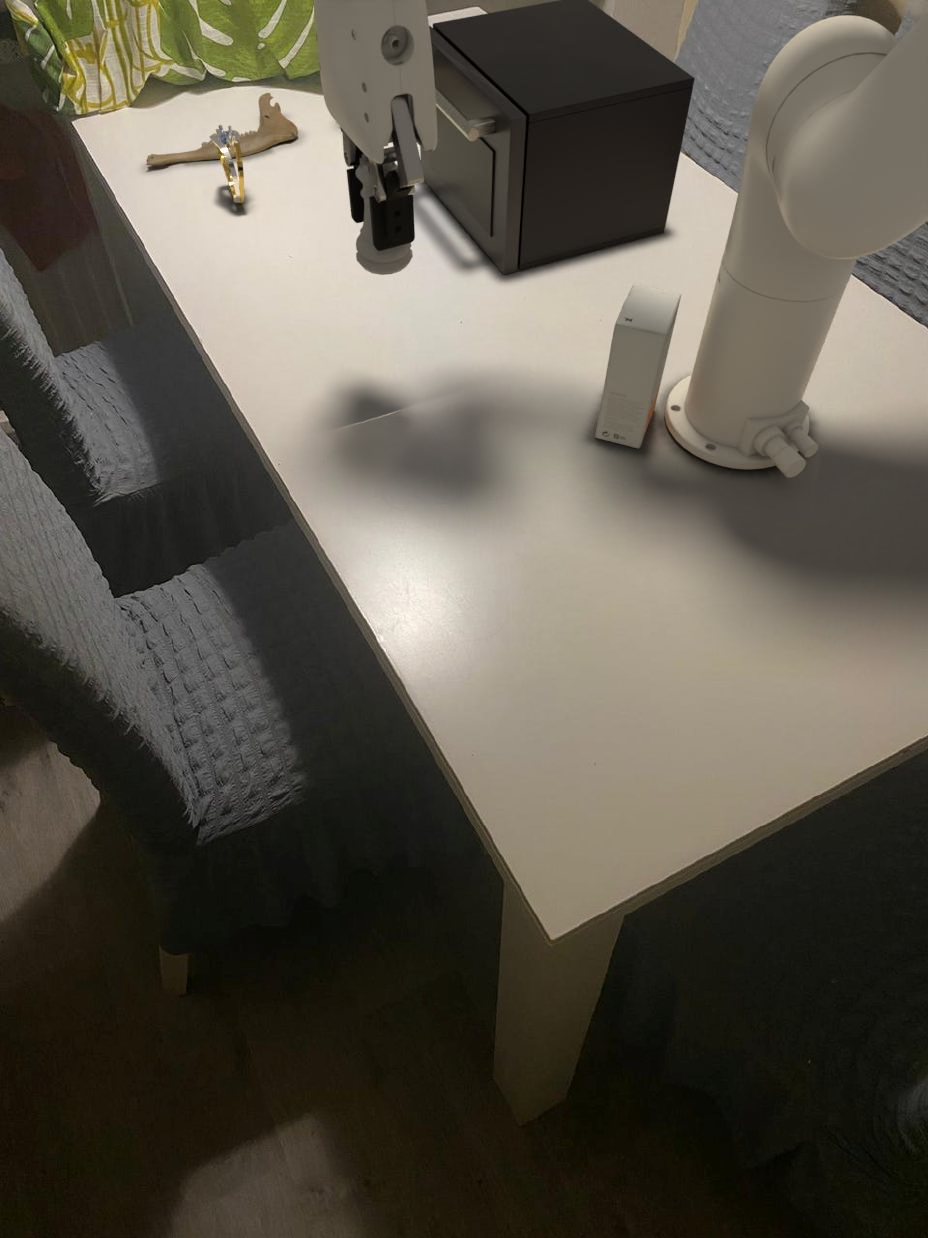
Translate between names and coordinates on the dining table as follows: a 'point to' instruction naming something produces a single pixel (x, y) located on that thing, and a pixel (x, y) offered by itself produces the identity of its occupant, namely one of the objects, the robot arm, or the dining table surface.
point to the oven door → (477, 155)
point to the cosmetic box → (636, 364)
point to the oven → (582, 123)
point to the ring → (230, 160)
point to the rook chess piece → (367, 253)
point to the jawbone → (241, 137)
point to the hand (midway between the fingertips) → (382, 228)
